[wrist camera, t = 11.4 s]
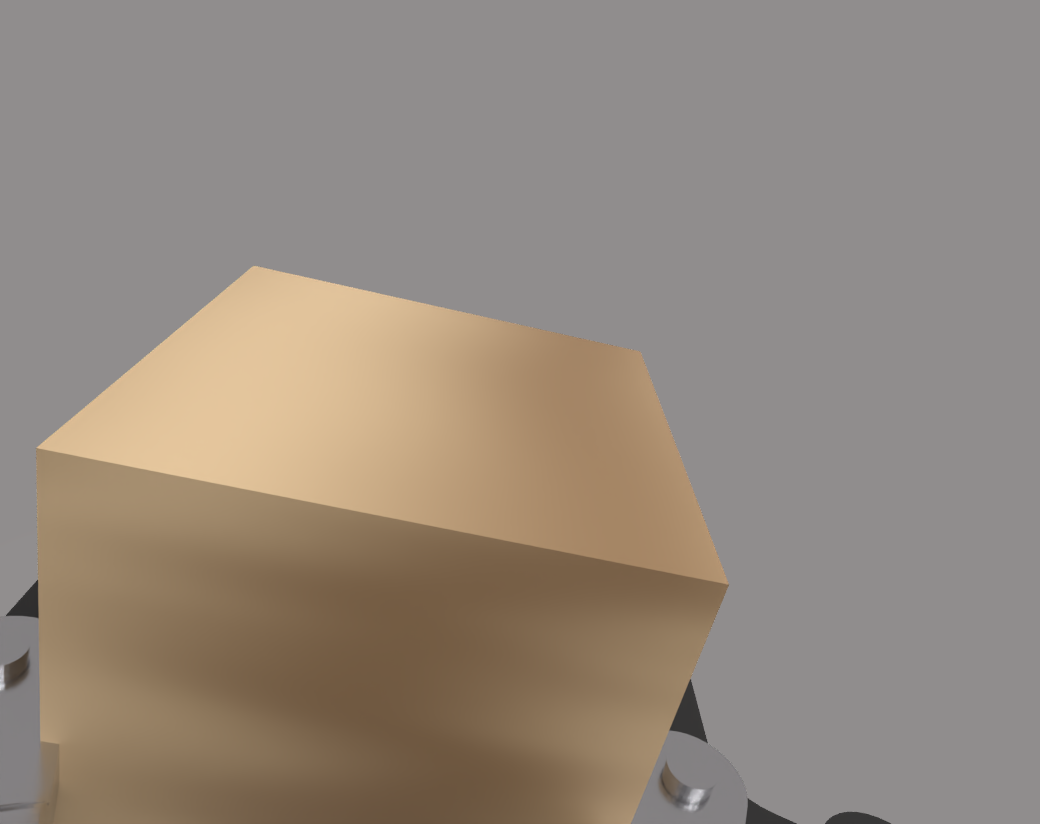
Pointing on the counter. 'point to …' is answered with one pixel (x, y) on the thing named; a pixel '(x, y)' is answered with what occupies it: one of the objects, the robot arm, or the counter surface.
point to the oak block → (366, 572)
